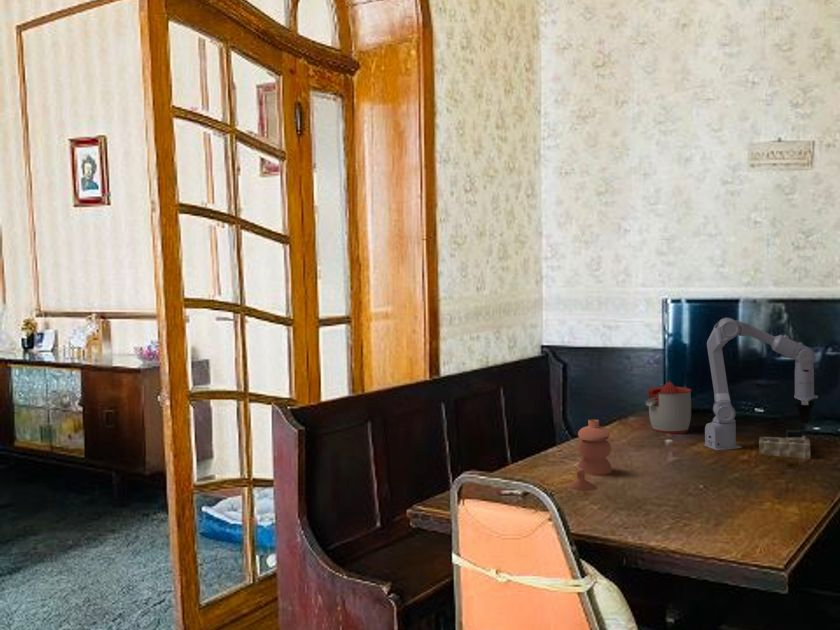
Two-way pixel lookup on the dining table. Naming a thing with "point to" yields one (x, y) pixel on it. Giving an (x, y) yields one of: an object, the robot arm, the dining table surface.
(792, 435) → the watch
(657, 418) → the citrus juicer
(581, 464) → the ceramic vessels
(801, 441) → the steel peg
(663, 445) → the dining table surface
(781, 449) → the press block
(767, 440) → the steel peg
